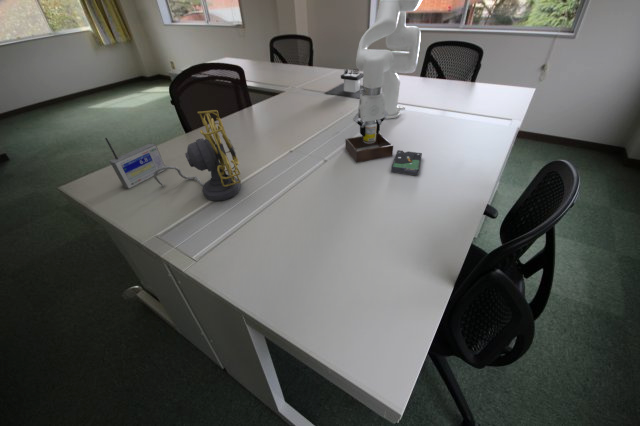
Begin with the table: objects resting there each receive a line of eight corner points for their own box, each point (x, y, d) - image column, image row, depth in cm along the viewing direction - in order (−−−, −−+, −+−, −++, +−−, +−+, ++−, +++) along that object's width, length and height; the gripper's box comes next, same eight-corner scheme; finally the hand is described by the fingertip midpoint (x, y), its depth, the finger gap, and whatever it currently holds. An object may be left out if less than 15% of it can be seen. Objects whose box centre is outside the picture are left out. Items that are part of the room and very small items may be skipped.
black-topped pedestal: (378, 87, 205) (379, 66, 196) (361, 98, 188) (362, 76, 180) (343, 83, 217) (343, 63, 209) (324, 93, 200) (323, 72, 192)
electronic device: (128, 189, 115) (103, 141, 103) (119, 184, 118) (93, 138, 106) (167, 169, 126) (148, 124, 114) (157, 165, 129) (138, 121, 117)
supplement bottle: (367, 137, 130) (368, 114, 124) (378, 140, 128) (379, 117, 121) (360, 142, 127) (361, 119, 121) (371, 145, 124) (372, 122, 118)
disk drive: (396, 155, 127) (390, 172, 116) (396, 149, 125) (391, 166, 114) (421, 158, 124) (418, 176, 113) (422, 152, 122) (419, 169, 111)
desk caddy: (378, 143, 137) (379, 133, 134) (392, 156, 126) (393, 145, 123) (345, 149, 134) (345, 138, 131) (356, 162, 123) (356, 151, 120)
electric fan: (248, 205, 103) (228, 122, 85) (151, 224, 97) (106, 140, 78) (242, 169, 123) (224, 96, 104) (161, 184, 117) (127, 108, 98)
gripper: (355, 96, 109) (353, 141, 121) (396, 90, 112) (392, 134, 124) (348, 90, 115) (347, 133, 127) (388, 84, 118) (384, 127, 130)
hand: (369, 133), depth 125 cm, fingers closed on supplement bottle, 5 cm apart
